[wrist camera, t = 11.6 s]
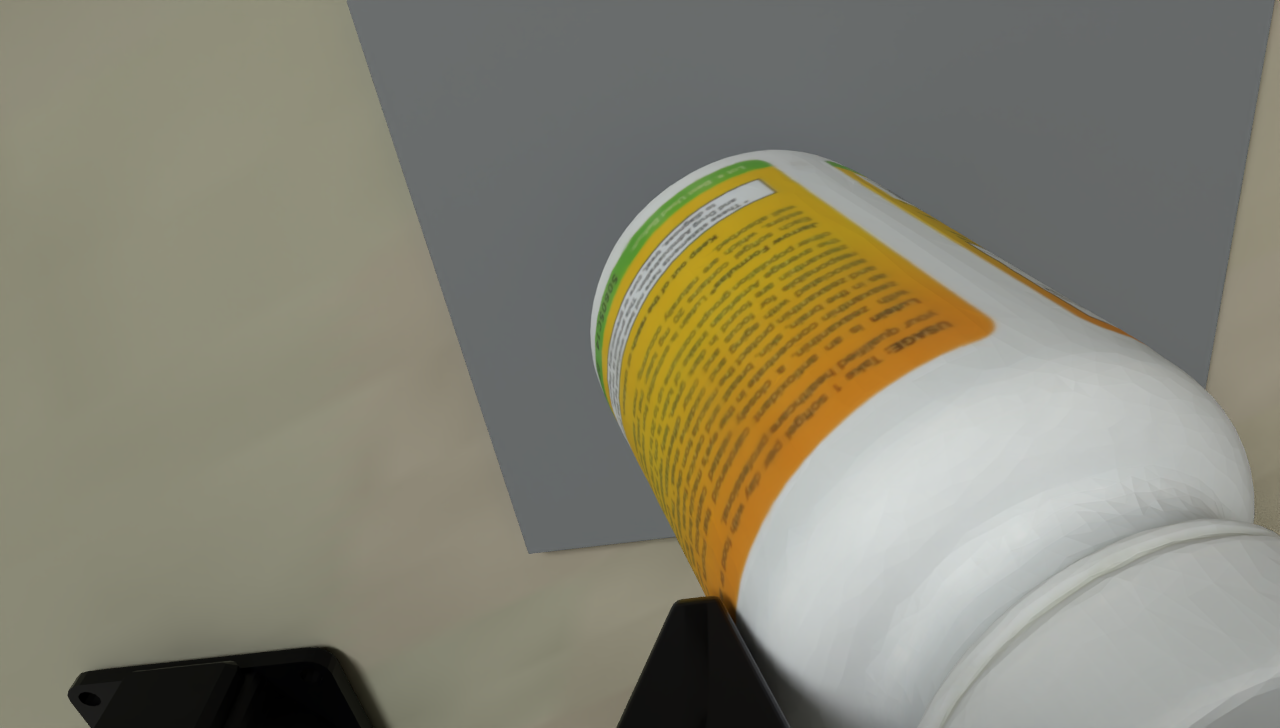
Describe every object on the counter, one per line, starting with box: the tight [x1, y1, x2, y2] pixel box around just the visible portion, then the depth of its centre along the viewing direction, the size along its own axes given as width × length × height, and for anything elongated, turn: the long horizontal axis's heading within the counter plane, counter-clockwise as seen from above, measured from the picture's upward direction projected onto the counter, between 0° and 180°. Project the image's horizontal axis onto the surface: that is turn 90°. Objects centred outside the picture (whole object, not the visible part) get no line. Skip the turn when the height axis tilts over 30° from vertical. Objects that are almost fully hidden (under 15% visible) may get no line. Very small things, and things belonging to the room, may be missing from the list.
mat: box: [347, 0, 1275, 554], centre depth 16 cm, size 11×13×1 cm
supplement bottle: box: [590, 150, 1280, 728], centre depth 11 cm, size 5×5×10 cm
